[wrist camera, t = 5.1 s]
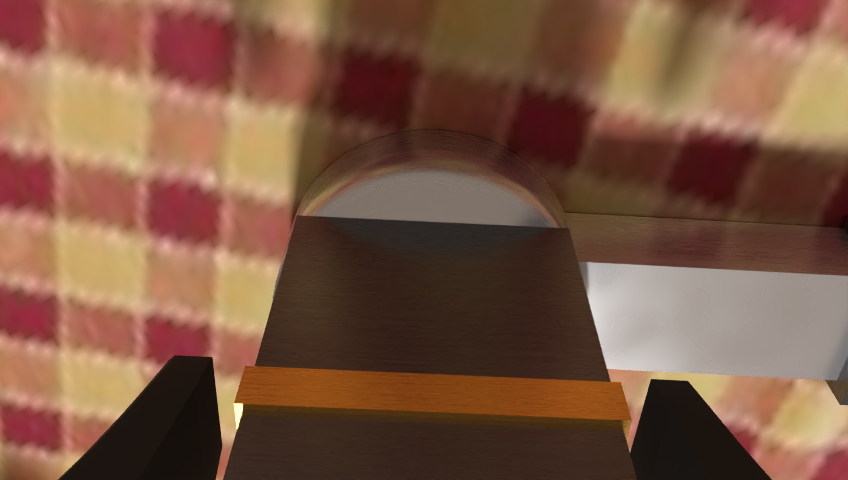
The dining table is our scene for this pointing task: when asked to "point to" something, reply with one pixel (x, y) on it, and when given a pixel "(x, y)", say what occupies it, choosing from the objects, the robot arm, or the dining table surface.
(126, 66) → the dining table surface
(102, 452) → the robot arm
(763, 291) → the ratchet
